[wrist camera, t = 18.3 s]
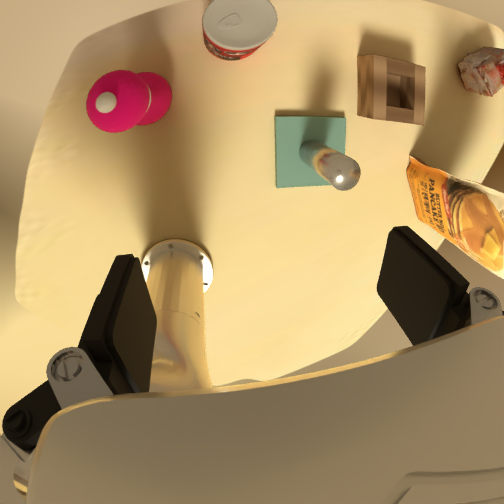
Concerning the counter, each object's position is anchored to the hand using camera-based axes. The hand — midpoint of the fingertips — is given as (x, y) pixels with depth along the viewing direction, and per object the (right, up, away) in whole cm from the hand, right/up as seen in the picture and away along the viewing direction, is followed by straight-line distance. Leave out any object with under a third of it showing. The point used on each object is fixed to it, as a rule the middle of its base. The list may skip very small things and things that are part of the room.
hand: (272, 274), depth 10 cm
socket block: (+21, +27, +28) cm, 44 cm away
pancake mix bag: (+32, +13, +38) cm, 52 cm away
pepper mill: (-15, +23, +25) cm, 37 cm away
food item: (+44, +38, +25) cm, 63 cm away
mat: (+8, +16, +32) cm, 37 cm away
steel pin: (+8, +16, +31) cm, 36 cm away
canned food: (-3, +31, +22) cm, 38 cm away
